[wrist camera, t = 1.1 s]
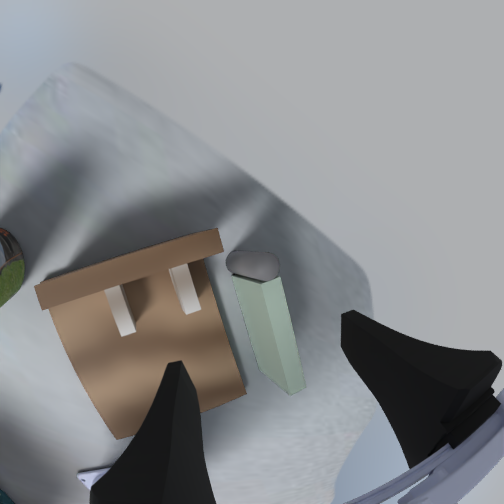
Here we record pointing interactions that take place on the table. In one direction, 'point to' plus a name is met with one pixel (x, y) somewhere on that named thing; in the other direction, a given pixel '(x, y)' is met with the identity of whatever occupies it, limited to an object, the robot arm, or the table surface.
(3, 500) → the donation box
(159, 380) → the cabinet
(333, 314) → the table surface
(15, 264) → the beverage can
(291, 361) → the green piece
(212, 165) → the table surface
